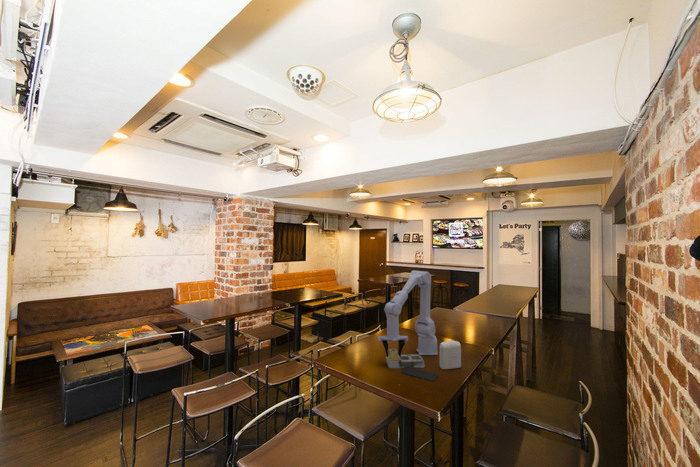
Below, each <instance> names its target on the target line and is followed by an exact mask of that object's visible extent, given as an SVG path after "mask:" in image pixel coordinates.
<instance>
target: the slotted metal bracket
mask: <svg viewBox="0 0 700 467" xmlns="http://www.w3.org/2000/svg"><path fill="white" fill-rule="evenodd" d="M398 357H399V355H398ZM399 359H400V360H391V361H389V359H388V357H387V356H386V355H385V362H386V365H387V367H388V369H404V368H405V367H412V368H416V369H419V368H420V369H421V368H425V360H424V359H423V357H422V355H420V354H419V353H418V354H401V357H399Z"/></svg>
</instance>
